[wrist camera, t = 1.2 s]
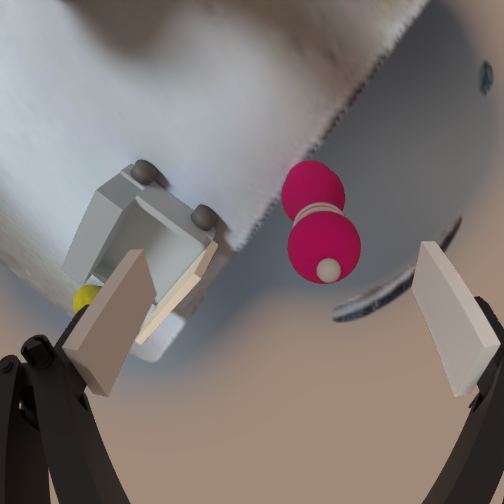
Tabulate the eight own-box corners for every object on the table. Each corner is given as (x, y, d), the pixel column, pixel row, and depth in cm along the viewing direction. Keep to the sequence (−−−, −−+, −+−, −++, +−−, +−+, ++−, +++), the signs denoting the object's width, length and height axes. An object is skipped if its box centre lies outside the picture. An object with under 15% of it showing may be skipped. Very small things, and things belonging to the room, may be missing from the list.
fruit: (113, 312, 54) (86, 359, 44) (83, 296, 53) (52, 340, 43) (119, 287, 51) (88, 336, 41) (86, 271, 50) (51, 315, 40)
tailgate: (155, 306, 48) (134, 340, 41) (212, 240, 41) (193, 273, 34) (161, 311, 48) (141, 345, 41) (219, 245, 41) (202, 279, 34)
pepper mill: (277, 160, 38) (271, 238, 21) (335, 153, 36) (380, 225, 19) (286, 213, 41) (285, 319, 24) (340, 206, 40) (377, 309, 23)
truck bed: (85, 247, 47) (57, 279, 40) (137, 153, 38) (104, 174, 31) (156, 299, 51) (138, 337, 44) (225, 219, 42) (211, 254, 35)
